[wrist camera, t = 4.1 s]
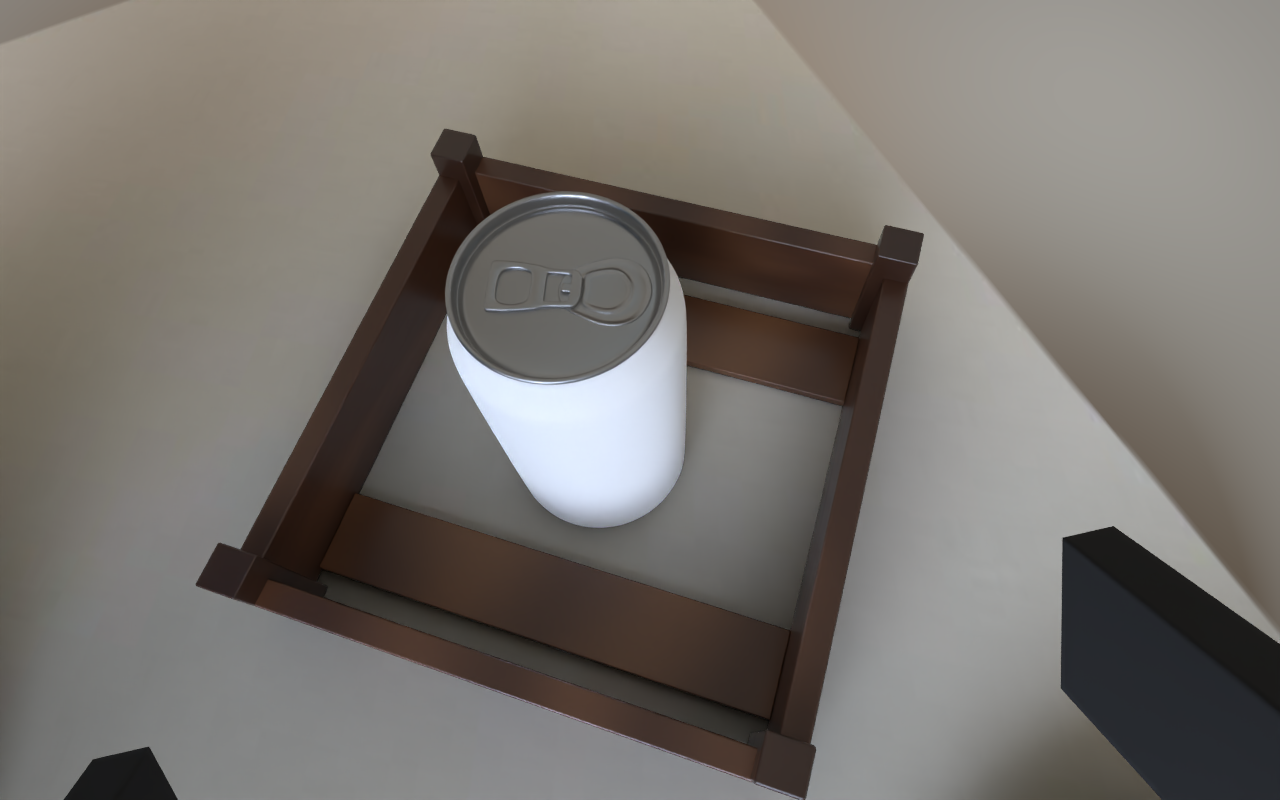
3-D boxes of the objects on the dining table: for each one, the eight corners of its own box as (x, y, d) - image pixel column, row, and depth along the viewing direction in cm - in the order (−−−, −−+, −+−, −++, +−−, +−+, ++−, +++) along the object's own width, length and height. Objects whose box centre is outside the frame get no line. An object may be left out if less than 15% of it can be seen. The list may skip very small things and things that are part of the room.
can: (681, 536, 28) (681, 406, 17) (509, 526, 29) (403, 393, 18) (689, 379, 31) (693, 180, 20) (531, 372, 31) (451, 174, 20)
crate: (277, 612, 28) (194, 585, 23) (476, 210, 35) (444, 127, 30) (782, 790, 25) (805, 802, 20) (888, 308, 32) (924, 232, 27)
